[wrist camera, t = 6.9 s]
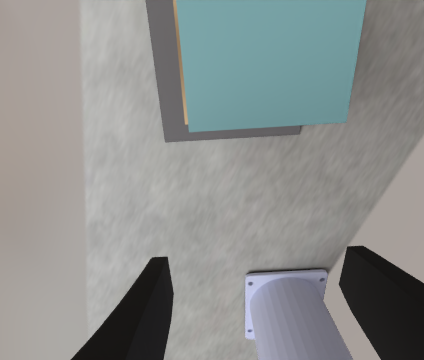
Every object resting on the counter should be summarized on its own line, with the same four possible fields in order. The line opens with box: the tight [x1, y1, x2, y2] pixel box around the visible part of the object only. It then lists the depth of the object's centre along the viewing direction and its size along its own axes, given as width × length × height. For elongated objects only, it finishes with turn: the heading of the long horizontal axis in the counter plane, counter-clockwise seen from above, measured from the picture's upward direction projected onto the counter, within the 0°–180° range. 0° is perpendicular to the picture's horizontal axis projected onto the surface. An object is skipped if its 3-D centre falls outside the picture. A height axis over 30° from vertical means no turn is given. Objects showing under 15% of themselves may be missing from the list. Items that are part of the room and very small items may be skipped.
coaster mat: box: [146, 0, 300, 142], centre depth 16 cm, size 10×10×1 cm
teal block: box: [176, 0, 366, 132], centre depth 8 cm, size 4×4×4 cm
